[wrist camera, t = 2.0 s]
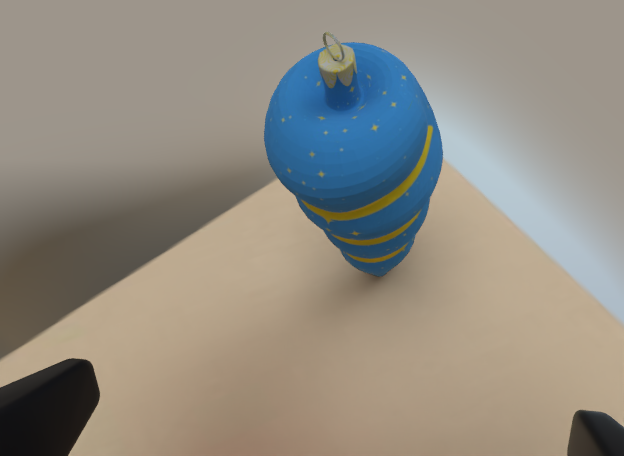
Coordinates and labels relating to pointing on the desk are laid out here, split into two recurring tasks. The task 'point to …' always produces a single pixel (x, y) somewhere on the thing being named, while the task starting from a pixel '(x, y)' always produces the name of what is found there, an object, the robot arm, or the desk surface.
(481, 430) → the desk surface
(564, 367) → the desk surface
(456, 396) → the desk surface
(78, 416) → the robot arm
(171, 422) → the desk surface
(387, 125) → the ornament
